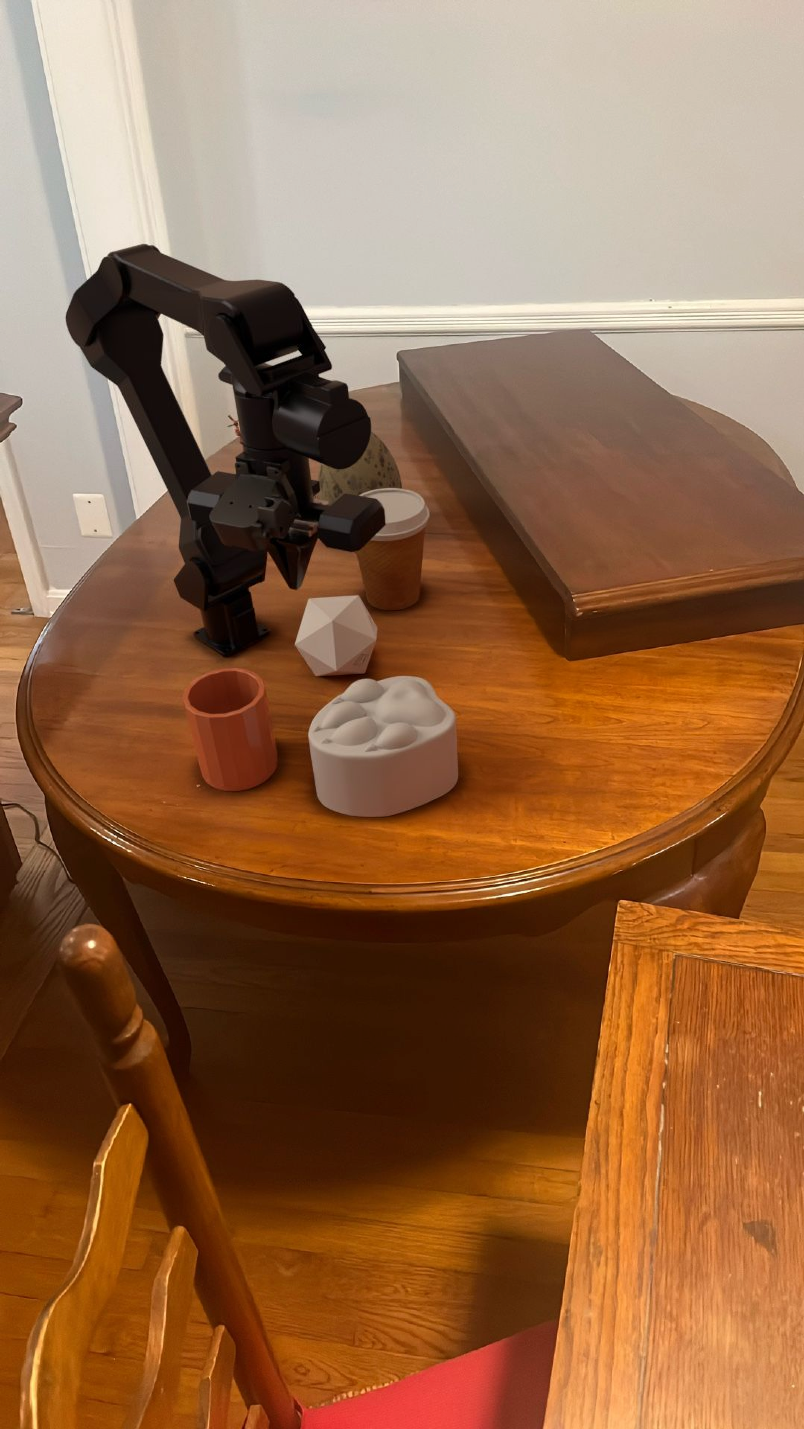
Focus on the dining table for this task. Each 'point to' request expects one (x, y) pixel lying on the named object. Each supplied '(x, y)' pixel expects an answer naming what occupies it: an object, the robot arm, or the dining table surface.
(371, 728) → the lumpy-topped squat cylinder
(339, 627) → the die
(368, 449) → the decorative egg
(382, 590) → the disposable coffee cup
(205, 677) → the terracotta cup
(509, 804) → the dining table surface
